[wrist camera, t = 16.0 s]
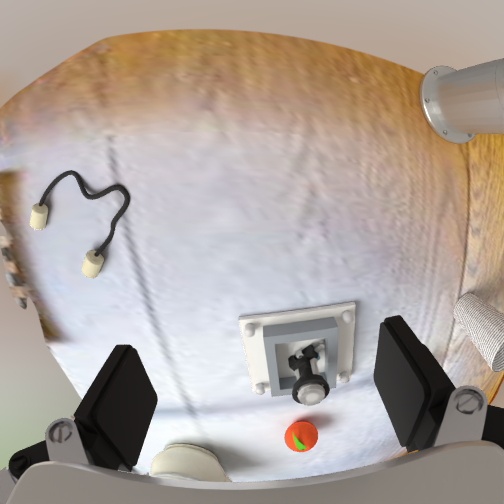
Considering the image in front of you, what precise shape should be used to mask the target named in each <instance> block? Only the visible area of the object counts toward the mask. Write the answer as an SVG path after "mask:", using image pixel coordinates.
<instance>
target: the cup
mask: <svg viewBox="0 0 504 504" xmlns="http://www.w3.org/2000/svg"><path fill="white" fill-rule="evenodd" d="M453 315H454V318H455V319H456V321H457V322H458V323H459V325H460V326H461V327H462V329H463V330H464V331H465V333H466V334H467V335H468V337H469V338H470V339H471V341H472V342H473V343H474V345H475V346H476V348H477V349H478V350H479V352H480V353H481V355H482V356H483V358H484V359H485V360H486V362H487V363H488V365H489V366H490V368H491V369H492V370H493V372H499V371H501V370H503V369H504V314H503V313H501V312H500V311H498V310H497V309H495V308H494V307H492V306H491V305H489V304H488V303H486V302H485V301H483V300H482V299H480V298H479V297H477V296H476V295H474V294H472V293H467V294H464V295H463V296H461V297H460V298H459V300H458V301H457V302H456V304H455V306H454V310H453Z"/></svg>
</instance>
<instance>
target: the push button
mask: <svg viewBox="0 0 504 504" xmlns="http://www.w3.org/2000/svg"><path fill="white" fill-rule="evenodd" d="M320 343H322V344H321V345H320ZM323 344H324V342H323V341H320V342H319V343H317V344H315V345H312V344H310V345H308V346H307V347H306V348H304V349H303V350H302V351H301V348H300V349H298V350H297V351H296V355H294V356H293V355H291V356H290V357H289V358H288V362H289V368H291V369H292V370H293V371H294V372H295V374H296V377H297V381H296V382H295V383H294V385H293V390H292V396H293V399H294V400H295V401H296V402H298V403H301V404H304V405H308V406H309V405H315V404H318V403H320V402H321V401H322V400H323V399H324V398H326V397H327V395H328V394H329V391H330V388H329V384H328V383H327V382H326V381H325V379H324V378H323V376H321V375H320V374H319V370H318V366H317V362H318V360H320V356H319V352H320V350H322V349H323V348H325V346H324V345H323ZM321 346H323V347H322V348H320V347H321ZM298 351H300V352H299V353H298ZM297 391H298V392H297Z"/></svg>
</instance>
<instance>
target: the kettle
mask: <svg viewBox="0 0 504 504" xmlns="http://www.w3.org/2000/svg"><path fill="white" fill-rule="evenodd" d="M144 475H145V474H144ZM148 475H149V473H148V472H147V475H145V476H148ZM151 477H159V478H167V479H176V480H188V481H204V482H232V481H231V480H230V479H229V478H228V477H227V476H226V475H225V473H224V470H223V468H222V467H221V465H220V464H219V463H218V459H217V457H216V456H215V455H214V454H213V453H211V452H210V451H208V450H206V449H204V448H201V447H198V446H194V445H189V444H172V445H169V446H167V447H166V448H165V449H164V451H162V452H160V453H158V454H157V455H156V456H155V457H154V458H153V460H152V463H151Z"/></svg>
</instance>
